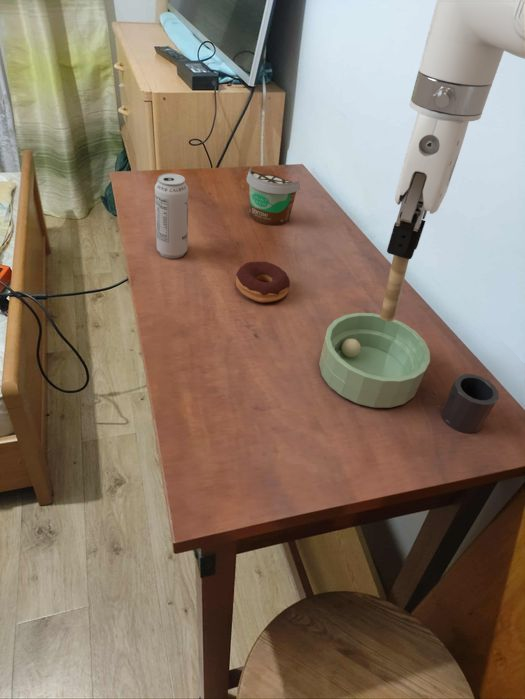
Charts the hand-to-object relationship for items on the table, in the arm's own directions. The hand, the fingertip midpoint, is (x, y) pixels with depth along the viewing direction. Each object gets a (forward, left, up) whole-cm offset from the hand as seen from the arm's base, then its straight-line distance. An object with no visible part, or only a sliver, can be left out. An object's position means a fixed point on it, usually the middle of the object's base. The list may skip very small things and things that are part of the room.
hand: (401, 249), depth 65 cm
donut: (+14, -22, -22) cm, 34 cm away
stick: (-1, 0, -11) cm, 11 cm away
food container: (+11, -50, -22) cm, 56 cm away
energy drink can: (+31, -34, -22) cm, 51 cm away
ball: (+1, -4, -20) cm, 20 cm away
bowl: (-1, 0, -22) cm, 22 cm away
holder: (-13, +9, -22) cm, 27 cm away
